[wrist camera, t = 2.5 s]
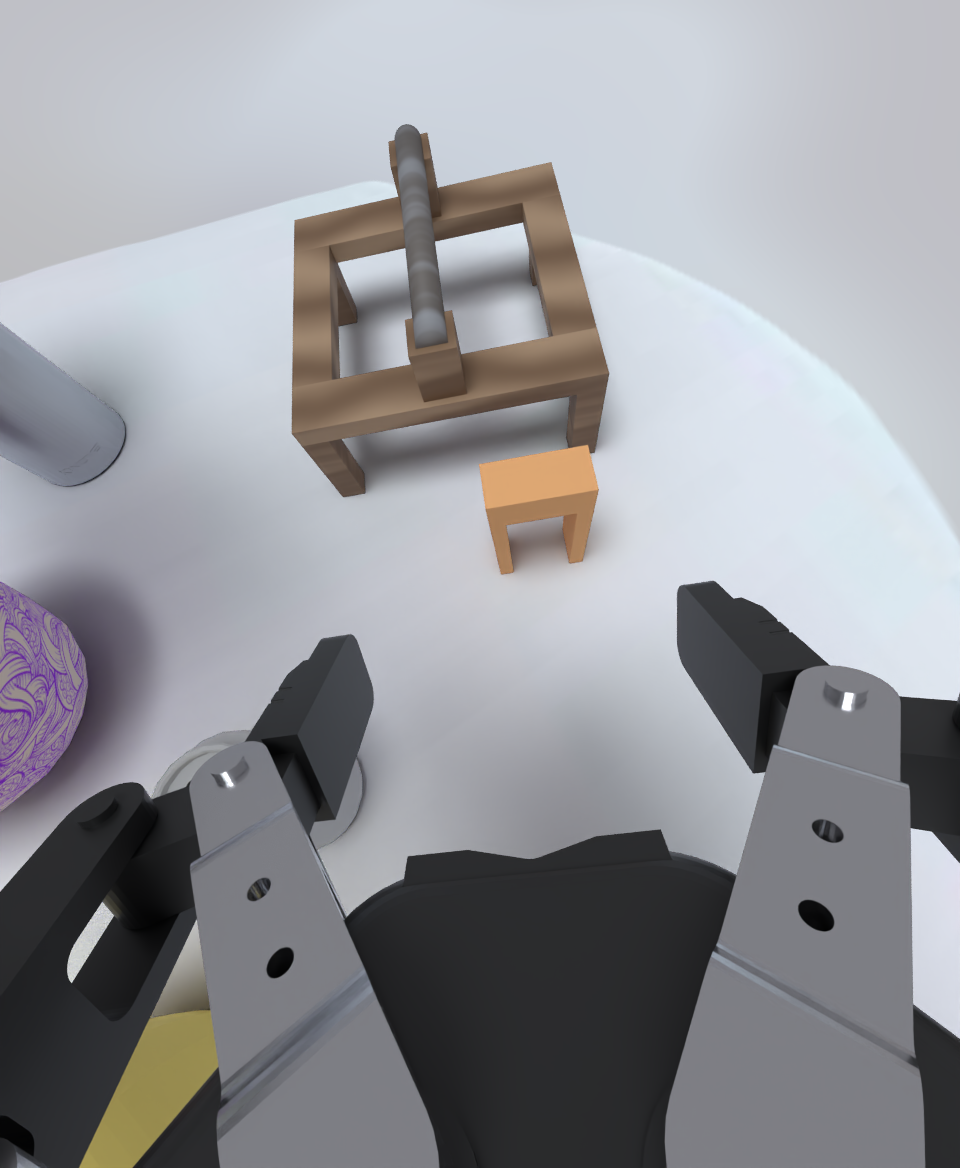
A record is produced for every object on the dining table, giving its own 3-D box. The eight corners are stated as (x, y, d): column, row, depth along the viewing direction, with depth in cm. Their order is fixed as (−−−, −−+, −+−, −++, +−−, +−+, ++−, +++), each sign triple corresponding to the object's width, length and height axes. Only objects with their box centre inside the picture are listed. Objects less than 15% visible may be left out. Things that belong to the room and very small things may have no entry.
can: (359, 722, 35) (271, 713, 23) (374, 833, 32) (284, 883, 21) (263, 747, 35) (131, 749, 24) (271, 858, 32) (126, 921, 21)
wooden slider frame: (594, 452, 39) (621, 307, 26) (343, 497, 41) (249, 381, 28) (549, 267, 47) (552, 80, 33) (337, 311, 48) (261, 150, 35)
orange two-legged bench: (582, 561, 36) (598, 489, 26) (501, 574, 37) (485, 509, 26) (574, 526, 37) (587, 444, 27) (496, 540, 38) (479, 464, 28)
